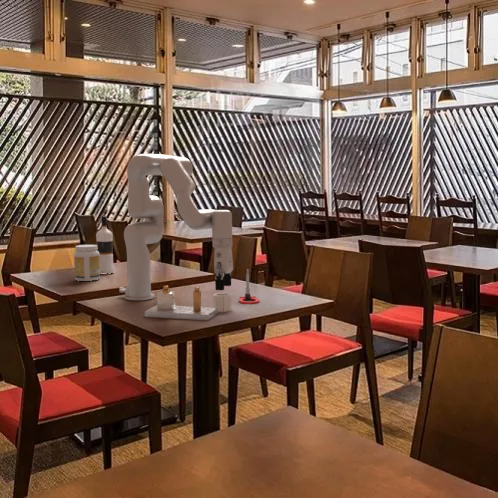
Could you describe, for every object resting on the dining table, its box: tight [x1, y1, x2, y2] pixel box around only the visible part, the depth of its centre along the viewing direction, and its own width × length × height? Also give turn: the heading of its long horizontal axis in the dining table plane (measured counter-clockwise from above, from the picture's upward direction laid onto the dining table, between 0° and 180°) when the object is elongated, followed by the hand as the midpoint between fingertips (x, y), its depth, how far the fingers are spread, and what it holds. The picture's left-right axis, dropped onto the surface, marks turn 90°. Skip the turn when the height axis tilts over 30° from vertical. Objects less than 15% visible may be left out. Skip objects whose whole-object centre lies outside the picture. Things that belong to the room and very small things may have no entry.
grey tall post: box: [238, 268, 260, 305], centre depth 255 cm, size 8×13×9 cm
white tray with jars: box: [144, 285, 219, 321], centre depth 231 cm, size 24×12×10 cm, turn 76°
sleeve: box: [212, 292, 232, 313], centre depth 240 cm, size 7×7×6 cm
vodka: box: [95, 215, 115, 274], centre depth 327 cm, size 9×9×30 cm
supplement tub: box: [73, 244, 101, 282], centre depth 307 cm, size 12×12×17 cm
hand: (223, 287), depth 239 cm, fingers open, 9 cm apart
